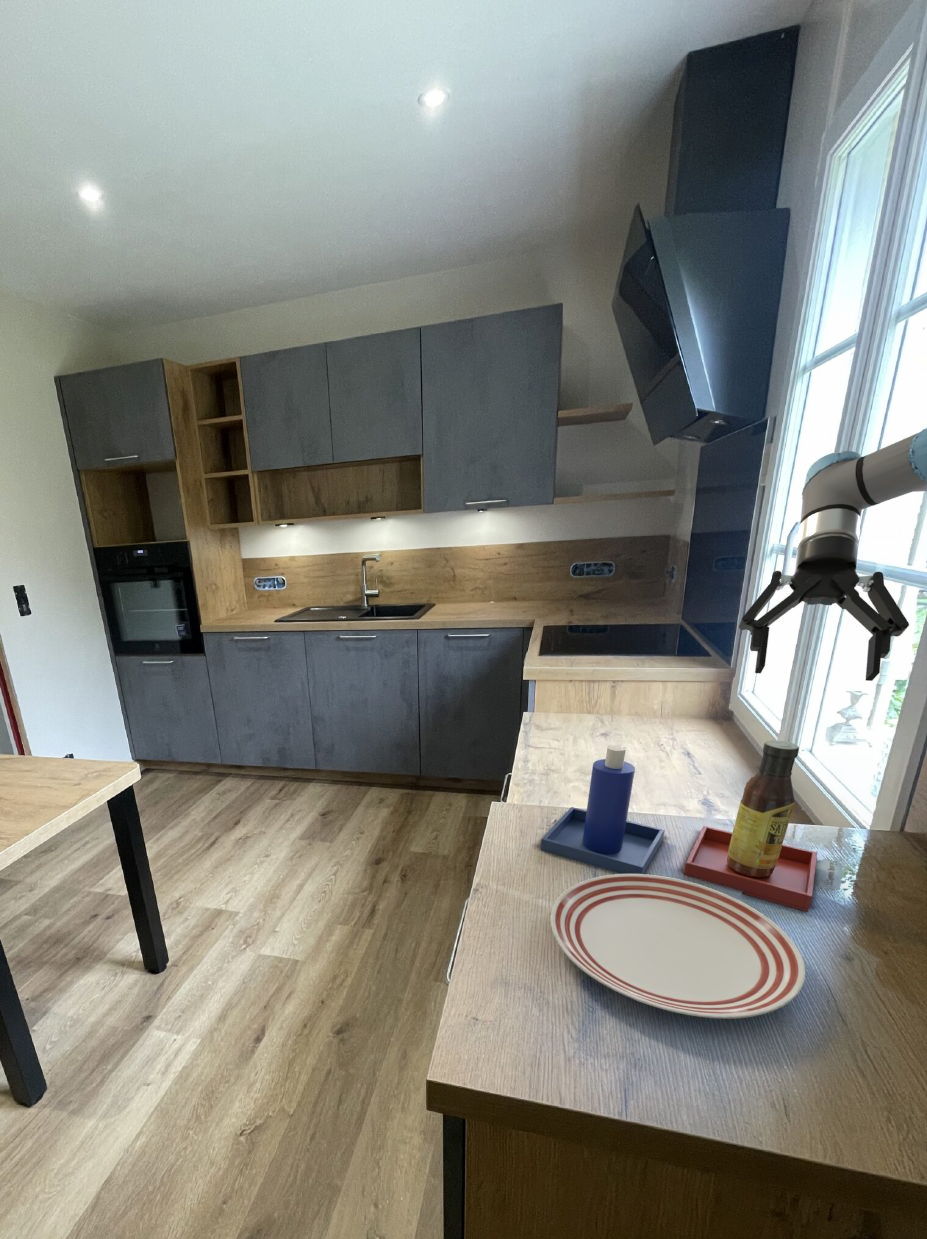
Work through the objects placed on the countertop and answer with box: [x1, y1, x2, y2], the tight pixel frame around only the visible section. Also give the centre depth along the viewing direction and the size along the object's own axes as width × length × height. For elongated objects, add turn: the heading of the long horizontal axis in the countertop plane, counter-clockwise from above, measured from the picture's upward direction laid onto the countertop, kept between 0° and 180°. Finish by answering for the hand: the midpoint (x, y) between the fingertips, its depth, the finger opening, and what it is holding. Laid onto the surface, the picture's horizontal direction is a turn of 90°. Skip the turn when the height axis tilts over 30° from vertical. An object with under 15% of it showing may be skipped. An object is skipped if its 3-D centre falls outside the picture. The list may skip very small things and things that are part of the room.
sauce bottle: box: [727, 739, 800, 878], centre depth 88 cm, size 7×6×20 cm
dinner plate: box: [549, 873, 807, 1019], centre depth 76 cm, size 27×27×3 cm
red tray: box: [683, 825, 818, 913], centre depth 92 cm, size 15×14×2 cm
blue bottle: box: [582, 744, 636, 854], centre depth 97 cm, size 6×6×17 cm
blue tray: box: [539, 806, 666, 874], centre depth 100 cm, size 15×14×2 cm
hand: (814, 673), depth 90 cm, fingers open, 13 cm apart
